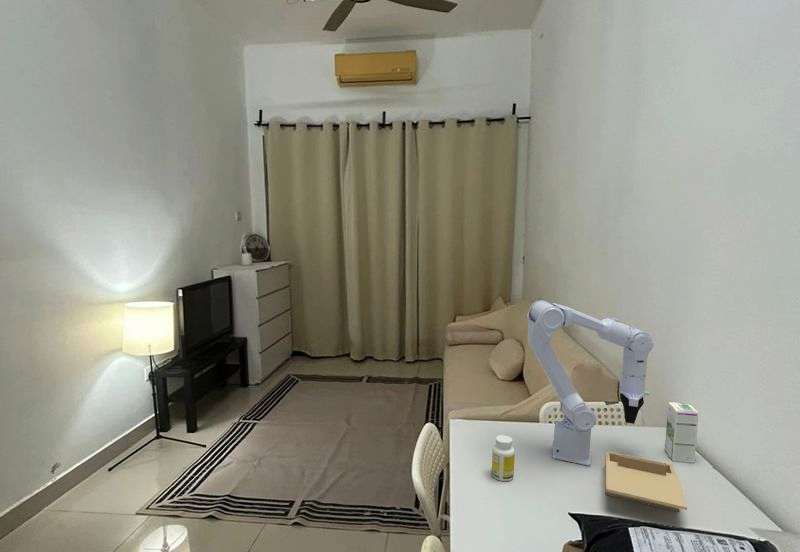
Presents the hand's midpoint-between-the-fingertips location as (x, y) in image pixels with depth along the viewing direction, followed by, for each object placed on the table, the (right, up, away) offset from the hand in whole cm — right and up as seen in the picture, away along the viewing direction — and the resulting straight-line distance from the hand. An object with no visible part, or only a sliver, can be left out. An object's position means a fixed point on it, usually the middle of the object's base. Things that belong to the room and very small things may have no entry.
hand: (629, 422), depth 122 cm
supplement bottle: (-36, -11, -9) cm, 39 cm away
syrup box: (+14, -10, +1) cm, 18 cm away
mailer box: (-4, -12, -13) cm, 18 cm away
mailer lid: (-7, -8, -20) cm, 23 cm away
